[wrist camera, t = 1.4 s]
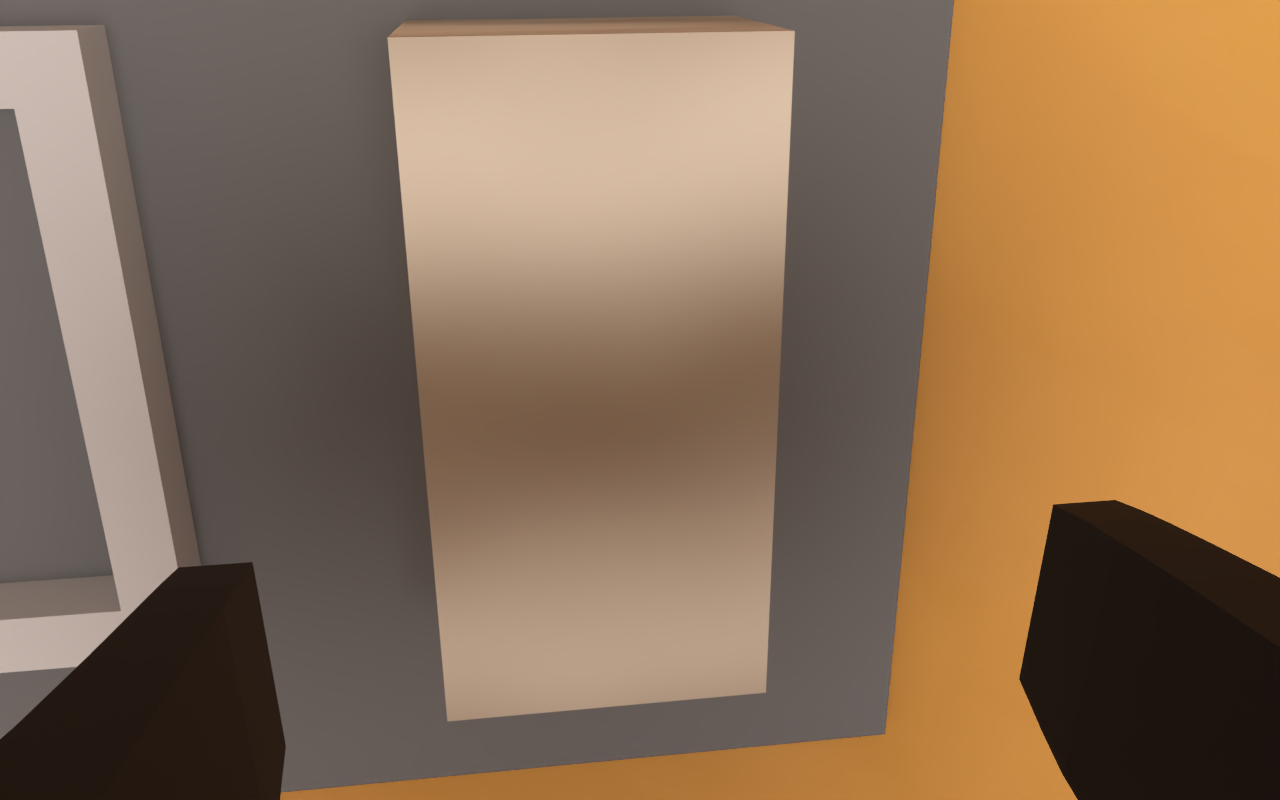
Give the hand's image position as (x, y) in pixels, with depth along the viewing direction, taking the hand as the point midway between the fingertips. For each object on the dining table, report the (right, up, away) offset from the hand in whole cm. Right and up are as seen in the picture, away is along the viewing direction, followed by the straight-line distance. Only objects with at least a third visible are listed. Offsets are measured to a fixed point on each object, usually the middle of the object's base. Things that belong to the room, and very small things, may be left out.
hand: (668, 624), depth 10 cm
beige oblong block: (-1, +3, +9) cm, 9 cm away
